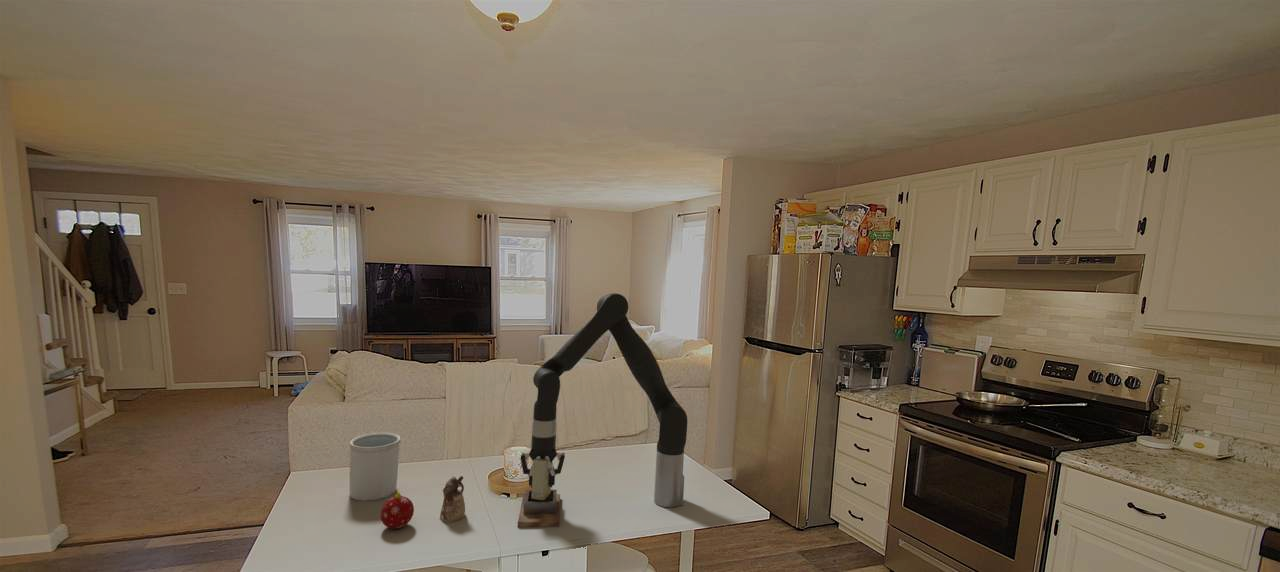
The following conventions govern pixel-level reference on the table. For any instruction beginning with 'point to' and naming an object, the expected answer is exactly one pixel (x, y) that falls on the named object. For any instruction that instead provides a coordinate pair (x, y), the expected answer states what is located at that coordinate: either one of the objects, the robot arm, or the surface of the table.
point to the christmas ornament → (397, 512)
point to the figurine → (453, 501)
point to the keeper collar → (540, 504)
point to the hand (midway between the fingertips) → (541, 486)
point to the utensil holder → (373, 465)
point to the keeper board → (539, 517)
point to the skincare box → (540, 480)
